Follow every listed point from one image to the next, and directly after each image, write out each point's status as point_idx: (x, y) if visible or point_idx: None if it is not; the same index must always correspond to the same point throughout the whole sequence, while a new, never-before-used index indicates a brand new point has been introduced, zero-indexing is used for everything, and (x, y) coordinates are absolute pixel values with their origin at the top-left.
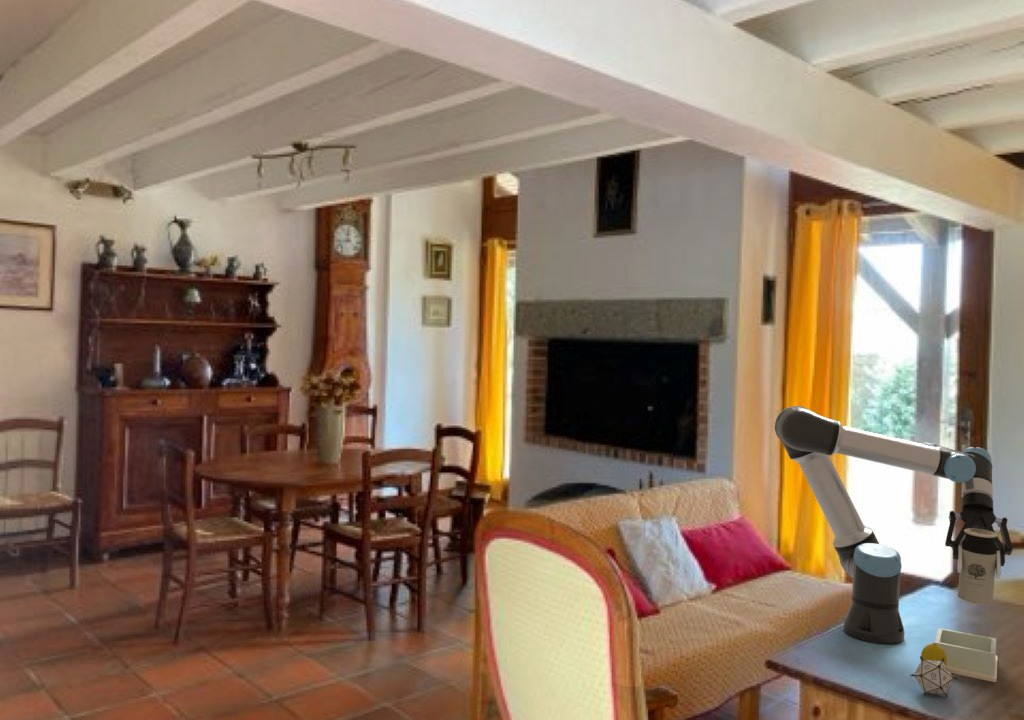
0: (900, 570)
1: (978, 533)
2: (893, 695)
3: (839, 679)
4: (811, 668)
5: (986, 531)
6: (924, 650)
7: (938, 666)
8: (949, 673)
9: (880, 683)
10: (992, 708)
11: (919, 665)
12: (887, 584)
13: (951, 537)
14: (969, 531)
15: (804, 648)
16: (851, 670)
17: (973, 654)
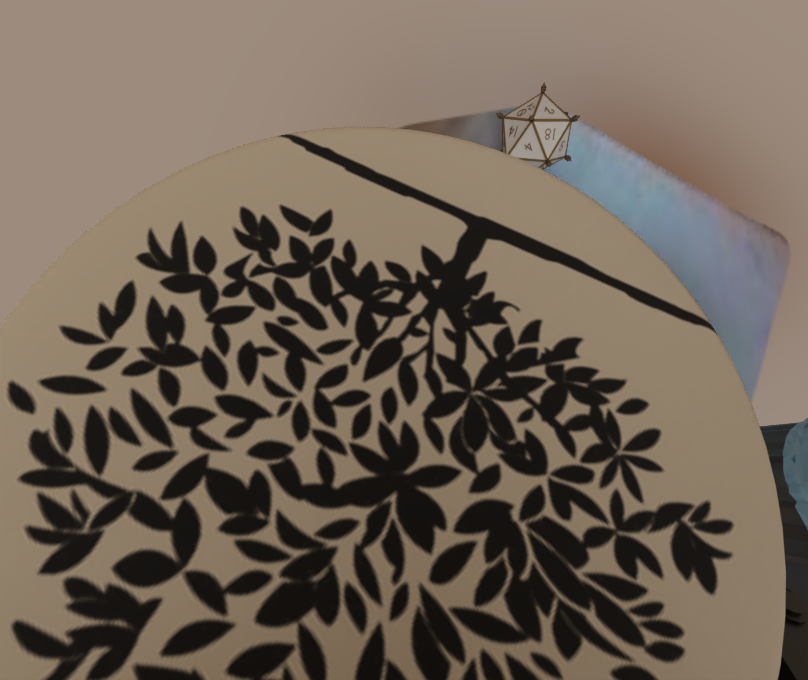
0: (789, 490)
1: (488, 246)
2: (585, 147)
3: (673, 189)
4: (725, 226)
5: (155, 603)
6: None
7: (544, 90)
8: (514, 113)
9: (606, 189)
10: (428, 130)
11: (569, 132)
12: (765, 428)
13: (785, 653)
14: (668, 355)
15: (761, 331)
16: (658, 235)
17: None
